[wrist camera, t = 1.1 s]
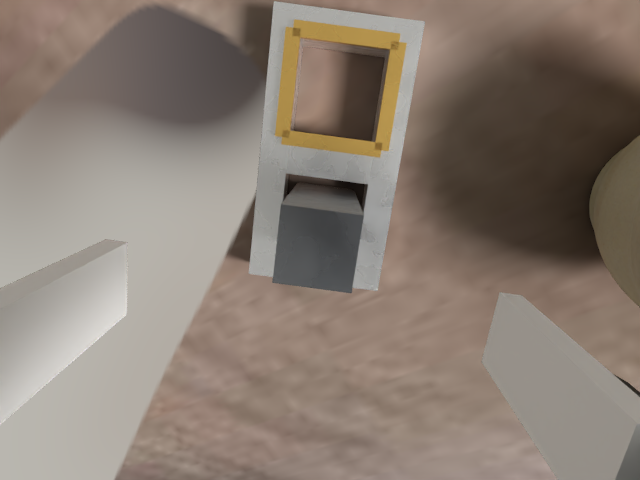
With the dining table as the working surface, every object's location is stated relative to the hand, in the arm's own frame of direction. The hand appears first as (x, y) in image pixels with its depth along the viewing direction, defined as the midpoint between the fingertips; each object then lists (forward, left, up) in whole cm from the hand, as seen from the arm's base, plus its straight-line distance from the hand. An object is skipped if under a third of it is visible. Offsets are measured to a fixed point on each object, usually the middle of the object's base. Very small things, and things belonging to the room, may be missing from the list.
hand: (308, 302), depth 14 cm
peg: (0, 0, -19) cm, 19 cm away
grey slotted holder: (+4, 0, -19) cm, 19 cm away
